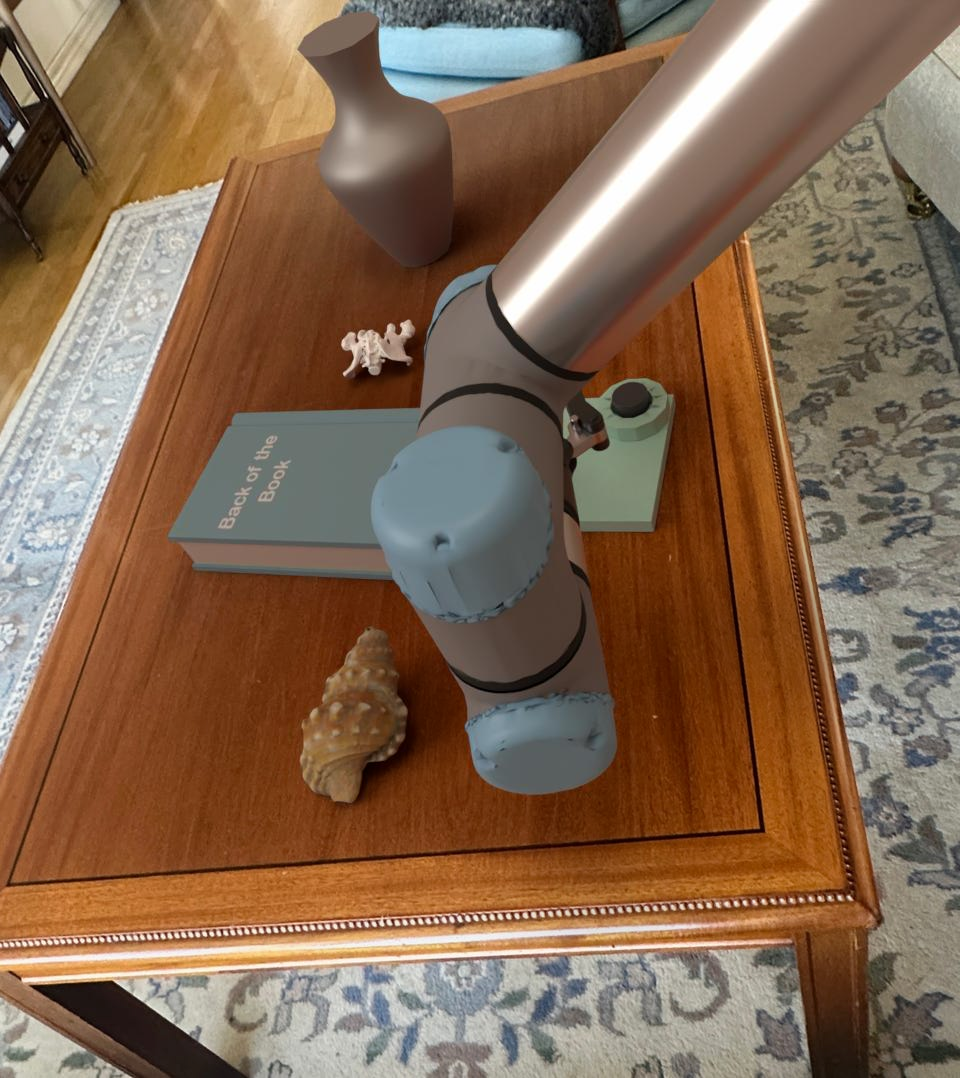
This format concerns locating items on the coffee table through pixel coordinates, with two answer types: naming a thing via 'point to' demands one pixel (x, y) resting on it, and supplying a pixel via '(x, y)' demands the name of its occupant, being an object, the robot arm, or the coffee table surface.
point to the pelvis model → (377, 348)
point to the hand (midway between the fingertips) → (490, 305)
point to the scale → (624, 465)
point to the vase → (382, 145)
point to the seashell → (354, 720)
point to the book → (295, 493)
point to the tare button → (631, 400)
